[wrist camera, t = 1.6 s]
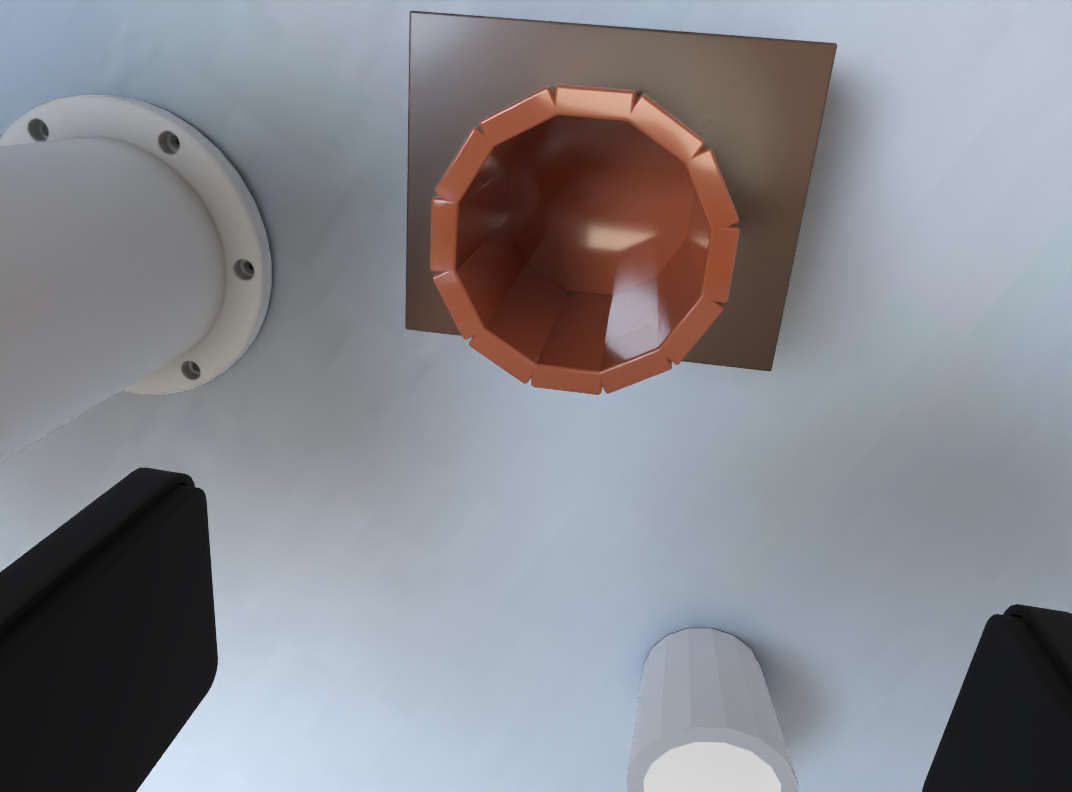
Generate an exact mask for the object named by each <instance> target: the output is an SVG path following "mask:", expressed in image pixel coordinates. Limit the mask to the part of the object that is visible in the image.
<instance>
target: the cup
mask: <svg viewBox="0 0 1072 792" xmlns="http://www.w3.org/2000/svg"><path fill="white" fill-rule="evenodd" d="M479 123H480V125H479V126H476V127H473V128H472V129H471V131H470V132H469V134H468V136H467V137H466V139H465V140H464V142H463V144H462V145H461V147H460V149H459V150H458V152H457V154H456V155H455V157H454V158H453V160H452V162H451V163H450V165H449V167H448V168H447V170H446V172H445V173H444V175H443V176H442V178H441V180H440V181H439V183H438V185H437V186H436V188H435V192H436V194H438V195H437V196H435V197H434V198H433V199H432V208H431V248H430V269H431V271H433V272H437V273H436V274H435V275H434V276H433V281H434V283H435V285H436V287H437V289H438V291H439V293H440V295H441V296H442V298H443V300H444V302H445V304H446V306H447V308H448V310H449V312H450V314H451V316H452V318H453V320H454V322H455V324H456V325H457V327H458V329H459V331H460V333H461V335H462V337H463V338H464V339H469V338H471V337H473V338H472V339H471V341H470V342H469V345H470V347H472V348H473V349H475V350H476V351H478V352H479V353H481V354H482V355H484V356H485V357H486V358H488V359H489V360H491V361H492V362H494V363H495V364H497V365H498V366H499V367H501V368H502V369H504V370H505V371H507V372H508V373H510V374H511V375H512V376H514V377H515V378H517V379H518V380H520V381H521V382H523V383H524V384H526V383H528V381H529V380H530V379H531V377H532V380H531V385H532V386H533V387H538V388H546V389H554V390H563V391H571V392H579V393H588V394H596V395H599V394H601V391H602V386H603V389H604V391H605V392H606V393H611V392H614V391H616V390H619V389H622V388H624V387H627V386H629V385H632V384H634V383H637V382H640V381H642V380H645V379H647V378H650V377H652V376H655V375H658V374H660V373H663V372H665V371H668V370H670V369H671V368H672V362H673V363H675V364H677V365H678V364H679V363H680V362H681V361H682V360H683V358H684V357H685V356H686V355H687V354H688V352H689V351H690V350H691V349H692V348H693V346H694V345H695V344H696V343H697V342H698V340H699V339H700V338H701V337H702V336H703V334H704V333H705V332H706V331H707V330H708V328H709V327H710V326H711V325H712V324H713V322H714V321H715V320H716V319H717V318H718V316H719V315H720V314H721V313H722V312H723V310H724V308H723V304H722V303H725V302H727V301H728V296H729V291H730V285H731V279H732V273H733V268H734V262H735V256H736V250H737V245H738V239H739V233H740V230H739V227H738V225H737V224H736V223H738V222H739V218H738V215H737V213H736V210H735V207H734V205H733V202H732V200H731V197H730V194H729V192H728V189H727V187H726V184H725V182H724V179H723V176H722V174H721V171H720V169H719V166H718V163H717V161H716V158H715V156H714V153H713V151H712V149H711V148H710V146H709V145H708V144H707V143H706V142H705V140H704V139H703V137H702V136H701V135H700V134H699V133H698V132H697V130H696V129H695V128H694V127H693V126H692V125H691V123H690V122H689V121H688V120H687V119H685V118H684V117H683V116H681V115H680V114H679V113H677V112H676V111H675V110H673V109H672V108H671V107H669V106H668V105H667V104H665V103H664V102H663V101H661V100H660V99H659V98H657V97H656V96H655V95H653V94H652V93H651V92H649V91H648V90H647V89H644V90H643V91H642V93H641V94H640V87H639V86H630V85H618V84H606V83H594V82H577V83H564V84H557V85H556V86H546V87H544V88H542V89H540V90H538V91H536V92H534V93H532V94H530V95H528V96H526V97H524V98H522V99H521V100H519V101H517V102H515V103H513V104H511V105H509V106H507V107H505V108H503V109H501V110H499V111H497V112H495V113H493V114H491V115H490V116H488V117H486V118H484V119H482V120H481V121H480V122H479Z"/></svg>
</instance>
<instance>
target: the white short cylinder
mask: <svg viewBox="0 0 1072 792" xmlns="http://www.w3.org/2000/svg"><path fill="white" fill-rule="evenodd" d="M627 783H628V792H798V781H797V778H796V775H795V772H794V769H793V766H792V763H791V759H790V756H789V753H788V750H787V747H786V744H785V741H784V738H783V735H782V732H781V729H780V726H779V723H778V719H777V716H776V713H775V710H774V707H773V704H772V701H771V698H770V695H769V692H768V689H767V686H766V683H765V679H764V676H763V673H762V670H761V667H760V665H759V663H758V661H757V659H756V657H755V656H754V654H753V652H752V650H751V649H750V648H749V647H748V646H746V645H745V644H744V643H743V642H741V641H740V640H739V639H738V638H736V637H735V636H734V635H731V634H728V633H724V632H721V631H718V630H715V629H712V628H687V629H685V630H682V631H679V632H676V633H673V634H670V635H667V636H666V637H665V638H663V639H662V640H661V641H660V642H659V643H657V644H656V645H655V646H654V647H653V648H652V649H651V650H650V653H649V655H648V657H647V659H646V662H645V664H644V667H643V674H642V680H641V687H640V694H639V700H638V707H637V714H636V721H635V727H634V734H633V741H632V747H631V754H630V761H629V768H628V774H627Z"/></svg>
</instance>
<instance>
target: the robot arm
mask: <svg viewBox="0 0 1072 792" xmlns="http://www.w3.org/2000/svg"><path fill="white" fill-rule="evenodd" d="M177 137H178V140H179V143H180V146H179V145H178V144H177V141H176V139H177ZM249 262H250V263H251V264H252V265H253V269H254V270H252V269H251V268H250V266H249ZM271 288H272V260H271V255H270V249H269V244H268V239H267V233H266V230H265V227H264V224H263V222H262V219H261V216H260V214H259V211H258V208H257V205H256V203H255V201H254V199H253V197H252V196H251V194H250V192H249V190H248V189H247V187H246V185H245V183H244V182H243V180H242V178H241V176H240V175H239V174H238V172H237V171H236V170H235V169H234V167H233V166H232V165H231V164H230V162H229V161H228V160H227V159H226V157H225V156H224V155H223V154H222V152H221V151H220V150H219V149H218V148H217V147H216V146H215V145H213V144H212V143H211V142H210V141H209V140H208V139H207V138H206V137H205V136H203V135H202V134H201V133H200V132H199V131H198V130H197V129H196V128H194V127H192V126H191V125H189V124H188V123H186V122H185V121H183V120H181V119H180V118H178V117H177V116H175V115H174V114H172V113H170V112H169V111H166V110H164V109H161V108H159V107H156V106H154V105H151V104H149V103H147V102H144V101H142V100H137V99H132V98H127V97H122V96H117V95H78V96H70V97H63V98H57V99H55V100H52V101H49V102H47V103H44V104H42V105H39V106H37V107H34V108H32V109H31V110H30V111H28V112H27V113H26V114H24V115H23V116H21V117H20V118H19V119H17V120H16V121H14V122H13V123H12V124H11V125H10V127H9V128H8V129H7V130H6V132H5V133H4V134H3V135H2V136H1V138H0V463H1V462H3V461H4V460H6V459H8V458H9V457H11V456H13V455H15V454H16V453H18V452H20V451H21V450H23V449H25V448H26V447H28V446H30V445H31V444H33V443H35V442H36V441H38V440H40V439H41V438H43V437H45V436H46V435H48V434H50V433H51V432H53V431H55V430H57V429H58V428H60V427H62V426H63V425H65V424H67V423H68V422H70V421H72V420H73V419H75V418H77V417H78V416H80V415H82V414H83V413H85V412H87V411H88V410H90V409H92V408H93V407H95V406H97V405H99V404H100V403H102V402H104V401H105V400H107V399H109V398H110V397H112V396H114V395H115V394H117V393H119V392H120V391H124V392H129V393H133V394H143V395H166V394H172V393H178V392H184V391H187V390H190V389H192V388H195V387H197V386H200V385H203V384H205V383H207V382H209V381H211V380H212V379H214V378H215V377H217V376H218V375H220V374H221V373H223V372H224V371H226V370H227V369H228V368H229V367H231V366H232V365H233V364H234V363H235V362H236V361H237V360H239V359H240V358H241V357H242V356H243V355H244V354H245V352H246V351H247V350H248V348H249V347H250V345H251V344H252V343H253V341H254V340H255V338H256V337H257V335H258V333H259V331H260V328H261V326H262V323H263V321H264V319H265V316H266V314H267V309H268V304H269V299H270V294H271ZM217 666H218V655H217V641H216V627H215V613H214V599H213V585H212V571H211V557H210V543H209V529H208V515H207V501H206V496H205V493H204V491H203V490H202V489H200V488H196V487H195V484H194V482H193V480H192V478H191V477H190V476H189V475H187V474H183V473H176V472H170V471H164V470H157V469H151V468H138V469H136V470H134V471H133V472H131V473H130V474H129V475H128V476H126V477H125V478H124V479H122V480H121V481H120V482H118V483H117V484H116V485H114V486H113V487H112V488H110V489H109V490H108V491H106V492H105V493H104V494H103V495H101V496H100V497H99V498H97V499H96V500H95V501H93V502H92V503H91V504H89V505H88V506H87V507H85V508H84V509H83V510H82V511H80V512H79V513H78V514H76V515H75V516H74V517H72V518H71V519H70V520H68V521H67V522H66V523H64V524H63V525H62V526H60V527H59V528H58V529H57V530H55V531H54V532H53V533H51V534H50V535H49V536H47V537H46V538H45V539H43V540H42V541H41V542H39V543H38V544H37V545H36V546H34V547H33V548H32V549H30V550H29V551H28V552H26V553H25V554H24V555H22V556H21V557H20V558H18V559H17V560H16V561H14V562H13V563H12V564H11V565H9V566H8V567H7V568H5V569H4V570H3V571H1V572H0V792H136V791H137V790H138V788H139V787H140V786H141V784H142V783H143V782H144V780H145V779H146V777H147V776H148V775H149V773H150V772H151V770H152V769H153V768H154V766H155V765H156V763H157V762H158V761H159V759H160V758H161V757H162V755H163V754H164V752H165V751H166V750H167V748H168V747H169V745H170V744H171V743H172V741H173V740H174V739H175V737H176V736H177V734H178V733H179V732H180V730H181V729H182V727H183V726H184V725H185V723H186V722H187V720H188V719H189V718H190V716H191V715H192V714H193V712H194V711H195V709H196V708H197V707H198V705H199V704H200V702H201V701H202V700H203V698H204V697H205V695H206V694H207V693H208V691H209V689H210V688H211V686H212V683H213V681H214V678H215V675H216V671H217ZM922 792H1072V614H1071V613H1068V612H1063V611H1057V610H1051V609H1044V608H1038V607H1032V606H1025V605H1019V604H1016V605H1012V606H1010V607H1009V608H1008V609H1007V610H1006V611H1005V612H1004V614H1003V615H1000V614H996V615H993V616H992V617H990V618H989V620H988V621H987V623H986V625H985V628H984V630H983V633H982V636H981V638H980V641H979V643H978V646H977V648H976V651H975V654H974V656H973V659H972V661H971V664H970V667H969V669H968V672H967V674H966V677H965V679H964V682H963V685H962V687H961V690H960V692H959V695H958V697H957V700H956V703H955V705H954V708H953V710H952V713H951V716H950V718H949V721H948V723H947V726H946V728H945V731H944V734H943V736H942V739H941V741H940V744H939V747H938V749H937V752H936V754H935V757H934V759H933V762H932V765H931V767H930V770H929V772H928V775H927V777H926V780H925V783H924V786H923V790H922Z"/></svg>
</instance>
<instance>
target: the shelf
mask: <svg viewBox="0 0 1072 792" xmlns="http://www.w3.org/2000/svg"><path fill="white" fill-rule="evenodd" d="M836 48H837V44H836V43H826V42H813V41H800V40H787V39H774V38H761V37H748V36H735V35H722V34H709V33H695V32H682V31H669V30H656V29H643V28H630V27H617V26H604V25H591V24H578V23H565V22H552V21H538V20H525V19H512V18H499V17H486V16H473V15H460V14H447V13H434V12H421V11H410V32H409V105H408V178H407V251H406V324H405V328H406V329H408V330H416V331H425V332H434V333H442V334H451V335H460V336H462V335H461V333H460V331H459V329H458V327H457V325H456V324H455V322H454V320H453V318H452V316H451V314H450V312H449V310H448V308H447V306H446V304H445V302H444V300H443V298H442V296H441V295H440V293H439V291H438V289H437V287H436V285H435V283H434V281H433V276H434V275H435V274H436V273H437V272H433V271H431V269H430V248H431V208H432V199H433V198H434V197H435V196H437V195H438V194H436V192H435V188H436V186H437V185H438V183H439V181H440V180H441V178H442V176H443V175H444V173H445V172H446V170H447V168H448V167H449V165H450V163H451V162H452V160H453V158H454V157H455V155H456V154H457V152H458V150H459V149H460V147H461V145H462V144H463V142H464V140H465V139H466V137H467V136H468V134H469V132H470V131H471V129H472V128H473V127H476V126H479V125H480V123H479V122H480V121H481V120H482V119H484V118H486V117H488V116H490V115H491V114H493V113H495V112H497V111H499V110H501V109H503V108H505V107H507V106H509V105H511V104H513V103H515V102H517V101H519V100H521V99H522V98H524V97H526V96H528V95H530V94H532V93H534V92H536V91H538V90H540V89H542V88H544V87H546V86H556V85H557V84H564V83H577V82H594V83H606V84H618V85H630V86H639V87H640V94H641V93H642V91H643V90H644V89H647V90H648V91H649V92H651V93H652V94H653V95H655V96H656V97H657V98H659V99H660V100H661V101H663V102H664V103H665V104H667V105H668V106H669V107H671V108H672V109H673V110H675V111H676V112H677V113H679V114H680V115H681V116H683V117H684V118H685V119H687V120H688V121H689V122H690V123H691V125H692V126H693V127H694V128H695V129H696V130H697V132H698V133H699V134H700V135H701V136H702V137H703V139H704V140H705V142H706V143H707V144H708V145H709V146H710V148H711V149H712V151H713V153H714V156H715V158H716V161H717V163H718V166H719V169H720V171H721V174H722V176H723V179H724V182H725V184H726V187H727V189H728V192H729V194H730V197H731V200H732V202H733V205H734V207H735V210H736V213H737V215H738V218H739V222H738V223H736V224H737V225H738V227H739V230H740V233H739V239H738V245H737V250H736V256H735V262H734V268H733V273H732V279H731V285H730V291H729V296H728V301H727V302H725V303H722V304H723V308H724V310H723V312H722V313H721V314H720V315H719V316H718V318H717V319H716V320H715V321H714V322H713V324H712V325H711V326H710V327H709V328H708V330H707V331H706V332H705V333H704V334H703V336H702V337H701V338H700V339H699V340H698V342H697V343H696V344H695V345H694V346H693V348H692V349H691V350H690V351H689V352H688V354H687V355H686V356H685V357H684V358H683V360H682V361H685V362H693V363H702V364H711V365H719V366H728V367H737V368H745V369H754V370H763V371H771V370H772V365H773V360H774V355H775V350H776V345H777V341H778V336H779V331H780V326H781V321H782V316H783V311H784V306H785V301H786V296H787V291H788V286H789V281H790V276H791V271H792V266H793V261H794V256H795V251H796V246H797V242H798V237H799V232H800V227H801V222H802V217H803V212H804V207H805V202H806V197H807V192H808V187H809V182H810V177H811V172H812V167H813V162H814V157H815V152H816V147H817V142H818V138H819V133H820V128H821V123H822V118H823V113H824V108H825V103H826V98H827V93H828V88H829V83H830V78H831V73H832V68H833V63H834V58H835V53H836Z"/></svg>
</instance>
